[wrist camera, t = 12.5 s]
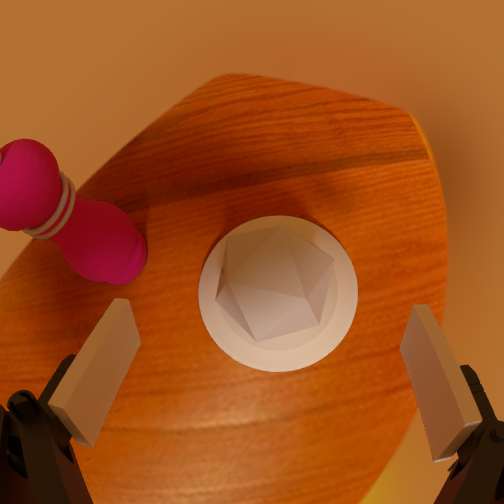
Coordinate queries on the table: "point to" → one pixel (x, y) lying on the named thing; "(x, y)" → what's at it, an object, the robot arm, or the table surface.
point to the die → (273, 282)
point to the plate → (297, 343)
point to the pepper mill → (67, 216)
